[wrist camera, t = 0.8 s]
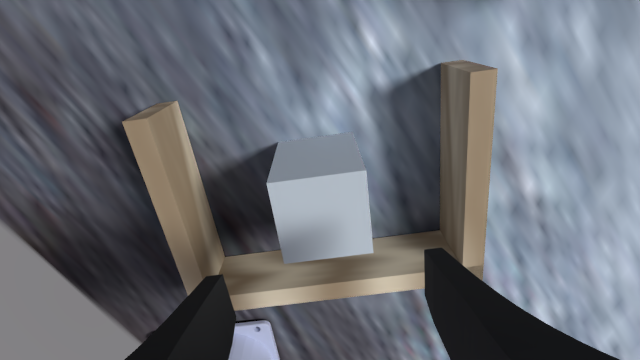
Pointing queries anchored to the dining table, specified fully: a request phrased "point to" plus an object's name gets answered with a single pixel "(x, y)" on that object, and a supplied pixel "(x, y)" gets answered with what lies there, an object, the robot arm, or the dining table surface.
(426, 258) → the robot arm
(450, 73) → the birch frame
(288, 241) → the block
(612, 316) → the dining table surface
